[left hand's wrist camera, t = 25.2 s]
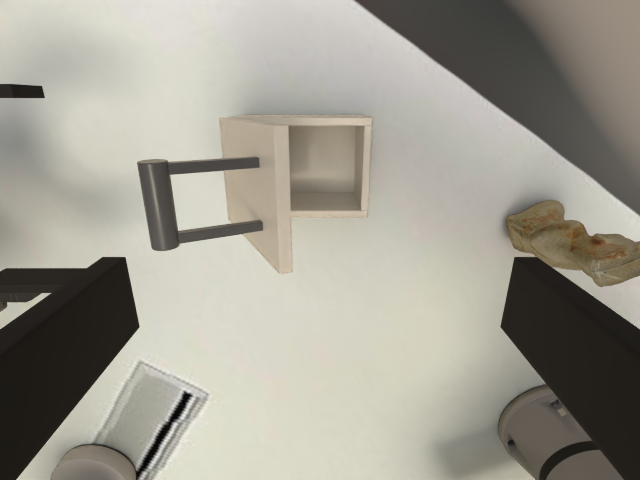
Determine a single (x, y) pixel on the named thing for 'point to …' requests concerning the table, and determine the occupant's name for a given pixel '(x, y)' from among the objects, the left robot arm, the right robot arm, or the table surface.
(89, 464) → the bust sculpture
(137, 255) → the table surface
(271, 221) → the lid
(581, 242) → the sculpture
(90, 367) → the left robot arm
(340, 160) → the chest
